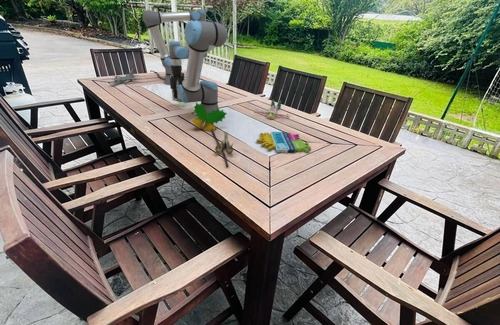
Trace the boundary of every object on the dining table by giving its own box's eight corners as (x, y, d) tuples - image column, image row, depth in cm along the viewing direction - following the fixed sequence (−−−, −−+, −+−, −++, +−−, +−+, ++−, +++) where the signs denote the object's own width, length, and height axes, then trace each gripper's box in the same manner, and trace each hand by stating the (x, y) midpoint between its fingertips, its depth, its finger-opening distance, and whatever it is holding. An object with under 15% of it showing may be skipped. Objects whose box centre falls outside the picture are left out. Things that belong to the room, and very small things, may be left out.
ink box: (185, 101, 198) (184, 85, 192) (180, 102, 194) (179, 86, 188) (176, 99, 202) (175, 83, 196) (172, 100, 198) (170, 84, 192)
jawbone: (234, 135, 144) (233, 125, 135) (233, 160, 138) (232, 151, 129) (217, 135, 144) (216, 125, 135) (216, 160, 138) (214, 150, 129)
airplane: (106, 78, 261) (104, 68, 256) (139, 76, 275) (138, 66, 269) (108, 88, 233) (105, 77, 228) (145, 86, 246) (143, 75, 241)
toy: (294, 101, 206) (290, 112, 180) (293, 110, 209) (289, 122, 183) (259, 97, 210) (251, 107, 185) (259, 106, 214) (250, 116, 188)
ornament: (218, 133, 171) (224, 110, 169) (221, 134, 163) (227, 111, 161) (186, 125, 162) (192, 101, 160) (189, 126, 155) (195, 101, 153)
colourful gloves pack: (313, 150, 142) (258, 149, 139) (312, 153, 143) (258, 152, 140) (301, 132, 164) (254, 130, 161) (301, 134, 165) (254, 133, 162)
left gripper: (197, 27, 250) (197, 51, 261) (212, 27, 270) (212, 49, 280) (190, 26, 253) (191, 50, 263) (206, 26, 273) (206, 48, 283)
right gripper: (181, 63, 194) (183, 94, 205) (162, 65, 180) (166, 99, 191) (188, 64, 191) (190, 96, 202) (170, 67, 177) (173, 101, 188)
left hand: (202, 50), depth 272 cm, fingers open, 13 cm apart
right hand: (178, 97), depth 197 cm, fingers closed on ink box, 5 cm apart
